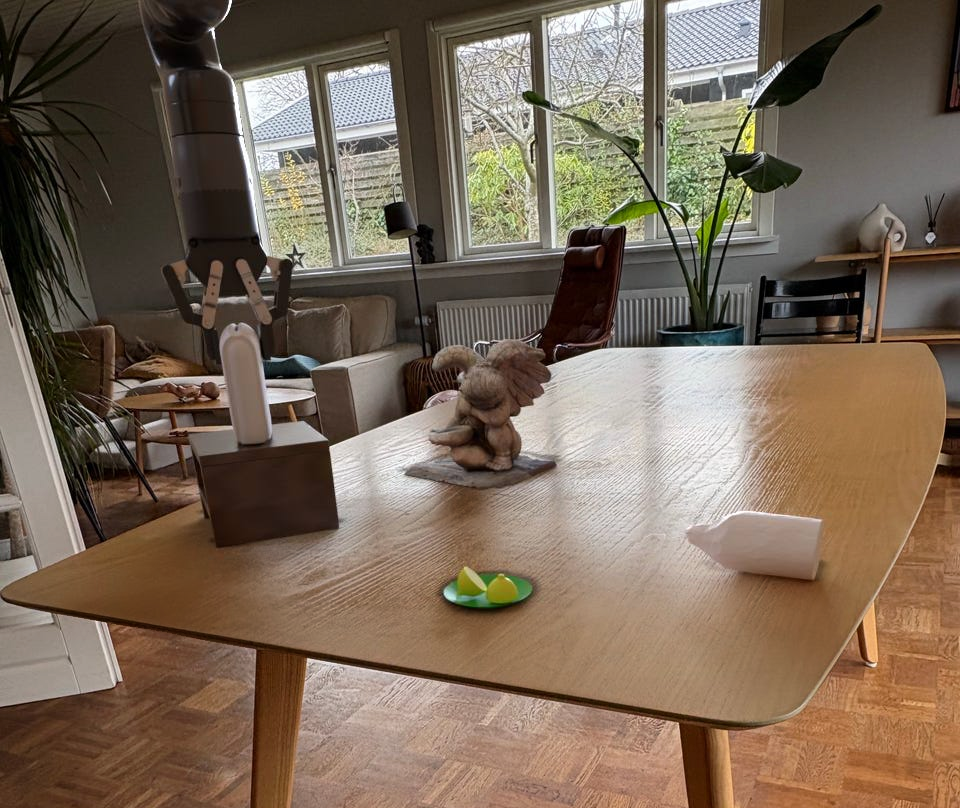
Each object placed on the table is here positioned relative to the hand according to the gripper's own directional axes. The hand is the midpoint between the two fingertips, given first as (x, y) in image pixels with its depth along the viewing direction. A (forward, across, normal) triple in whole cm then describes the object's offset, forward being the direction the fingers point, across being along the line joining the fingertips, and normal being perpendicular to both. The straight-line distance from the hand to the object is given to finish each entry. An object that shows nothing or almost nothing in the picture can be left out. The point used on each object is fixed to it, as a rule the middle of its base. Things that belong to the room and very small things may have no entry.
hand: (242, 361), depth 93 cm
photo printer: (+9, 0, 0) cm, 9 cm away
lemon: (+19, -14, +35) cm, 42 cm away
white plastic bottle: (+19, -38, +41) cm, 59 cm away
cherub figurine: (+19, -32, -10) cm, 39 cm away
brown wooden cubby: (+19, 0, 0) cm, 19 cm away
